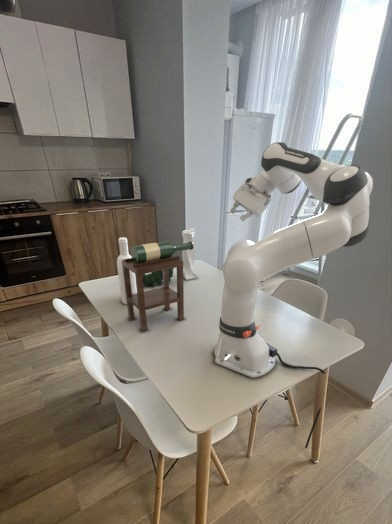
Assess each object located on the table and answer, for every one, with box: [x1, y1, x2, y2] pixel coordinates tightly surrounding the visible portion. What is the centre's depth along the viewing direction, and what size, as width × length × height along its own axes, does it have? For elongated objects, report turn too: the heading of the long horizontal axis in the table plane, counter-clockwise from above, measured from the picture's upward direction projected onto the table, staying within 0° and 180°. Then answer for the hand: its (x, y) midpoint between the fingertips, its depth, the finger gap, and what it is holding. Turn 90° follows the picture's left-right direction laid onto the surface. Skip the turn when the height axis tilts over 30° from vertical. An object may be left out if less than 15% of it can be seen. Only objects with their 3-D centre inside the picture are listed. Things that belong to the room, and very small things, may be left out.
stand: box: [122, 255, 185, 333], centre depth 124 cm, size 14×20×27 cm
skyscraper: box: [181, 228, 198, 281], centre depth 167 cm, size 8×8×28 cm
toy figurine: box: [142, 268, 175, 288], centre depth 161 cm, size 9×19×25 cm
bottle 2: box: [130, 240, 195, 264], centre depth 118 cm, size 6×26×6 cm, turn 125°
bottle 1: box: [116, 236, 137, 305], centre depth 138 cm, size 8×8×30 cm
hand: (236, 216), depth 126 cm, fingers open, 8 cm apart
